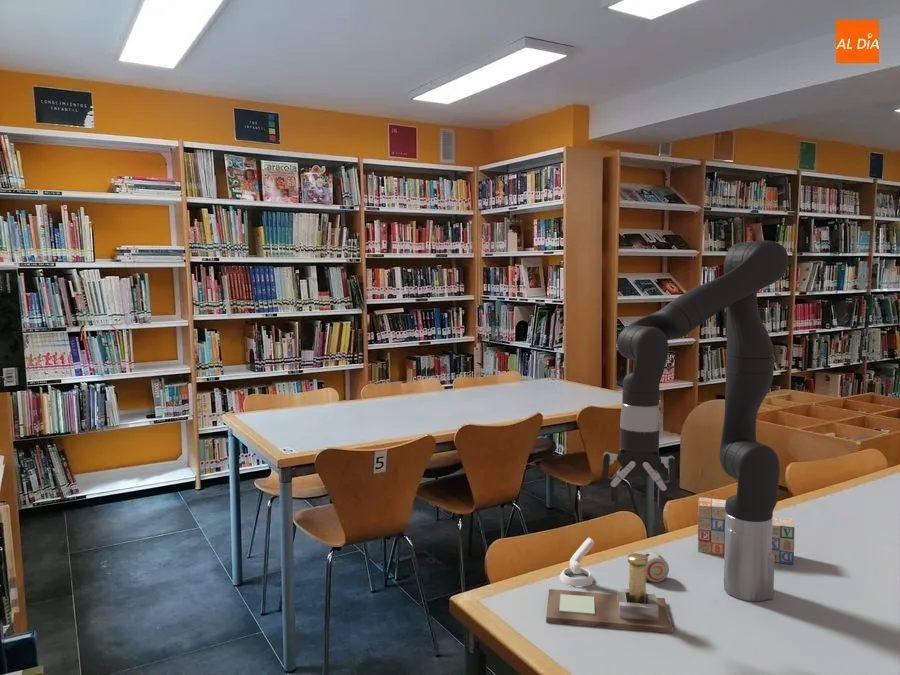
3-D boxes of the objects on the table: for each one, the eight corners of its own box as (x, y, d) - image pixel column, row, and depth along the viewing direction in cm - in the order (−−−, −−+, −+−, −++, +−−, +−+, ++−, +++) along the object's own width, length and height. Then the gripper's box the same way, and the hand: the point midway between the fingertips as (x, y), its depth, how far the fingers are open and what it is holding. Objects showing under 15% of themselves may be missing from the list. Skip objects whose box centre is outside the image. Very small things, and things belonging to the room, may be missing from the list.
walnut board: (664, 602, 136) (664, 586, 136) (672, 633, 125) (672, 615, 124) (549, 593, 141) (549, 577, 141) (546, 621, 129) (546, 605, 129)
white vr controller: (619, 564, 143) (595, 550, 141) (585, 603, 145) (561, 590, 144) (607, 544, 150) (584, 530, 148) (576, 582, 152) (553, 568, 151)
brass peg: (646, 605, 133) (647, 554, 132) (648, 615, 129) (649, 562, 128) (626, 604, 134) (626, 552, 133) (627, 613, 130) (628, 560, 129)
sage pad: (594, 598, 137) (594, 596, 137) (594, 614, 130) (594, 613, 130) (560, 595, 138) (560, 594, 138) (559, 611, 131) (559, 610, 131)
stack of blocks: (791, 555, 159) (792, 506, 158) (793, 565, 153) (795, 514, 152) (697, 542, 167) (698, 496, 166) (697, 552, 161) (697, 504, 160)
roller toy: (636, 574, 149) (637, 550, 149) (663, 573, 150) (664, 549, 149) (643, 583, 145) (643, 558, 145) (671, 582, 145) (671, 557, 145)
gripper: (675, 424, 131) (672, 502, 132) (603, 420, 134) (601, 496, 136) (679, 432, 124) (676, 515, 125) (602, 428, 127) (600, 508, 128)
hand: (637, 505), depth 130 cm, fingers open, 8 cm apart
